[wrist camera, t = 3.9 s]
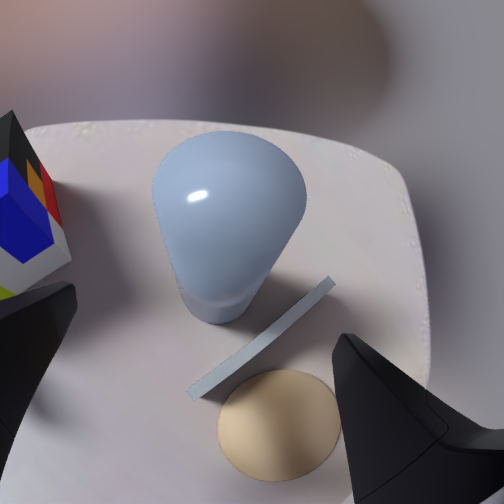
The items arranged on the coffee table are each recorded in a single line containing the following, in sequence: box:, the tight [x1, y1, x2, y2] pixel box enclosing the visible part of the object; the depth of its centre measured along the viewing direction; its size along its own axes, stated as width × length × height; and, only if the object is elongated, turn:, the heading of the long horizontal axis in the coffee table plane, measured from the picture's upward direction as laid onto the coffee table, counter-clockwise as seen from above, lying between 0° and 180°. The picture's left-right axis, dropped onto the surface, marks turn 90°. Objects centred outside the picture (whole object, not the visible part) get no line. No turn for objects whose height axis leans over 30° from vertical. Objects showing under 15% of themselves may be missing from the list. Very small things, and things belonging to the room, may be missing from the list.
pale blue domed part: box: [152, 131, 307, 324], centre depth 15 cm, size 5×5×12 cm
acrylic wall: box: [185, 276, 336, 401], centre depth 18 cm, size 12×1×3 cm, turn 129°
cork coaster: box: [218, 370, 341, 482], centre depth 17 cm, size 9×9×1 cm
